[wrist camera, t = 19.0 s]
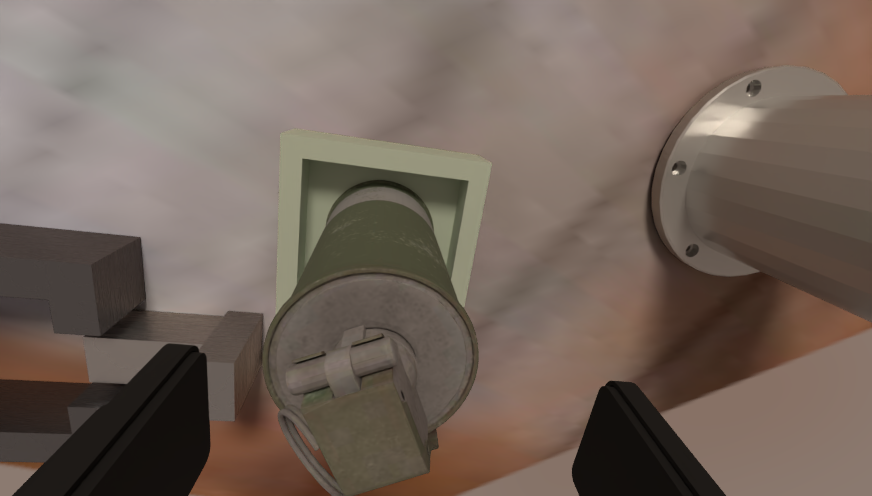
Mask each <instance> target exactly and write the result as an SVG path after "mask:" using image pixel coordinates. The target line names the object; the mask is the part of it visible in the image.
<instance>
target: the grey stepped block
mask: <svg viewBox="0 0 872 496" xmlns="http://www.w3.org/2000/svg"><path fill="white" fill-rule="evenodd" d="M262 334H263V314H260V313H247V312H233V311H228V312H227V313H226V314H225V316H224V317H222V316H209V315H195V314H181V313H168V312H154V311H140V310H131V311H130V312H129V313H128V314H127V315H125V316H124V317H123V318H122V319H121V320H119V321H118V322H117V323H116V324H115V325H113V326H112V327H111V328H110V329H108V330H107V331H106V332H105V333H104V334H102V335H101V336H91V335H85V336H83V342H84V349H85V355H86V362H87V369H88V375H89V382H98V383H119V384H127V383H128V382H129V381H130V380H131V379H132V378H133V377H134V376H135V375H136V374H137V373H138V372H139V371H140V370H141V369H142V368H143V367H144V366H145V365H146V364H147V363H148V362H149V361H150V360H151V359H152V358H153V357H154V355H155V354H156V353H157V352H158V351H159V350H160V349H161V348H162V347H163V346H165V345H166V344H169V343H172V344H184V345H195V346H197V347H198V349H199V353H205V354H206V357H207V376H208V399H209V420H215V421H235V419H236V417H237V415H238V413H239V411H240V409H241V407H242V405H243V403H244V400H245V398H246V396H247V394H248V392H249V390H250V388H251V386H252V384H253V381H254V379H255V377H256V375H257V373H258V371H259V369H260V367H261V365H262Z"/></svg>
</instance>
